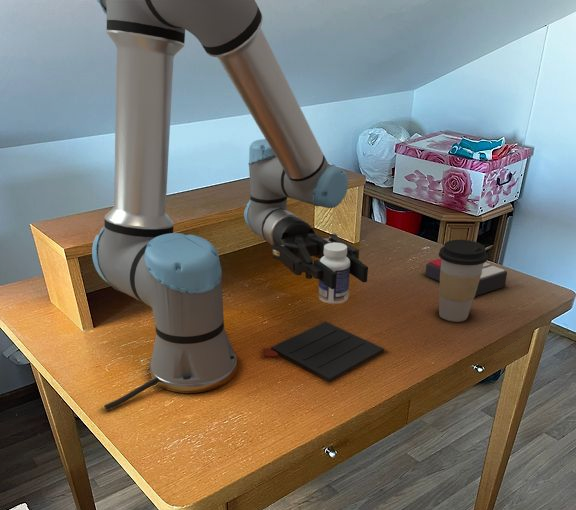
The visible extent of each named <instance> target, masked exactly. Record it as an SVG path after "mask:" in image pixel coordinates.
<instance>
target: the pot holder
mask: <svg viewBox="0 0 576 510" xmlns="http://www.w3.org/2000/svg"><path fill="white" fill-rule="evenodd" d="M384 351H385V349H384V348H383V347H382V346H379V345H377V344H375V343H374V342H373V343H372V342H370V341H368V340H366V339H364V338H362V337H360V336H358V335H355V334H354V333H351V332H348V331H347V330H344V329H342V328H340V327H338V326H336V325H334V324H331V323H329V322H327V321H324V322H322V323H320V324H318V325H316V326H313V327H311V328H309V329H307V330H305V331H303V332H300V333H299V334H296V335H294V336H292V337H290V338H288V339H285V340H283V341H282V342H280V343H277V344H275V345H274V346H273V345H272V346H271V347H270V348H265V351H264V358H278V357H279V356H280V357H281V358H283V359H285V360H287V361H289V362H291V363H293V364H295V365H296V366H298V367H300V368H301V369H304V370H306V371H308V372H309V373H311V374H313V375H315V376H317V377H318V378H320V379H323V380H324V381H326V382H328V383H331V382H332V381H335V380H336V379H338V378H339V377H342V376H344V375H346V374H347V373H349V372H351V371H353V370H354V369H356V368H358V367H359V366H361V365H363V364H365V363H367V362H369V361H370V360H372V359H374V358H375V357H377V356H379V355H381V354H383V353H384Z"/></svg>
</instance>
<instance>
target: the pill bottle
mask: <svg viewBox="0 0 576 510" xmlns="http://www.w3.org/2000/svg"><path fill="white" fill-rule="evenodd" d="M323 253H324V255H325V256H323V257H322V258H321V259H319V261H320V262H321V263H323V264H324V265H326V266H327V267H328V268H330V269H331V270H332V271H334V272H335V273H336V289H331V288H330V287H328V286H327V285H326V284H324V283H323V282H322V281H320V280H319V279H318V299H319V300H320V301H321V302H323V303H325V304H329V305H339V304H343V303H346V301H348V300H349V296H350V295H349V293H350V292H349V291H350V276H351V274H350V260H349V258H348V257H346V255H347V246H346V245H345V244H342V243H328V244H326V245H324V252H323Z"/></svg>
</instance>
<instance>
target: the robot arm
mask: <svg viewBox="0 0 576 510" xmlns="http://www.w3.org/2000/svg"><path fill="white" fill-rule="evenodd" d="M96 2H97V3H99V5H100V7H101V10H102V12H103V13H104V14H105V15H106V34H107V36H108V37H109V38H110V39H111V41H112V42H113V44H114V45H115V47H116V70H115V71H116V72H115V75H116V76H115V124H114V125H115V127H114V130H115V131H114V136H115V137H114V178H113V179H114V184H113V186H114V187H113V190H114V191H113V196H114V197H113V207H112V209H110V210H109V211H108V212H107V213H105V215H104V218H103V219H104V221H103V222H104V223H103V225H104V226H103V227H102V228H101V229H100V230H99V231H100V232H99V233H98V234H96V235H95V237H94V240H93V242H92V246H91V247H92V248H91V258H92V262H93V266H94V268H95V270H96V272H97V274H98V275H99V276H100V278H101V279H102V280H103V281H104V282H106V283H107V284H108V285H109V286H111V287H112V288H113V289H115V290H116V291H118V292H119V293H122V294H126V295H128V296H130V297H132V298H133V299H135V300H137V301H139V302H141V303H143V304H145V305H146V306H149V307H150V308H151V309H152V315H153V320H154V321H153V322H154V329H155V339H154V343H153V348H152V352H151V358H150V362H149V370H150V377H151V379H150V380H149V381H147V382H145V383H143V384H142V385H140V386H138V387H136V388H134V389H133V390H131V391H129V392H128V393H127V394H125V395H123V396H121V397H120V398H117V399H115V400H113V401H111V402H109V403H106V404H104V409H105V410H106V411H109V410H111V409H113V408H115V407H117V406H119V405H121V404H124V403H125V402H127V401H129V400H130V399H132V398H134V397H135V396H137V395H139V394H141V393H143V392H144V391H146V390H147V389H149V388H151V387H153V386H154V385H157V386H158V387H160V388H162V389H165V390H167V391H169V392H174V393H180V394H195V393H197V394H198V393H202V392H207V391H208V392H209V391H212V390H214V389H217V388H220V387H222V386H224V385H226V384H227V383H228V382H230V381H231V380H232V379H233V378H234V377H235V376H236V373H237V370H238V359H237V355H236V354H237V353H235V350H234V348H233V346H232V343H231V341H230V338H229V336H228V334H227V332H226V329H225V320H224V317H225V316H224V300H223V299H224V297H223V281H222V280H223V279H222V278H223V276H222V275H223V269H222V266H221V261H220V256H219V252H218V250H217V248H216V246H214V244H213V243H211V241H209V240H207V239H205V238H203V237H201V236H199V235H196V234H191V233H189V234H184V232H174V226H175V223H174V221H173V220H172V218H171V217H170V216H169V215H168V214H167V211H166V208H167V194H168V193H167V190H168V173H169V171H168V169H169V155H170V154H169V153H170V134H171V114H172V98H173V97H172V96H173V95H172V94H173V75H174V59H175V56H176V55H177V54H178V53H179V52H180V51H181V50H182V49H183V48H184V47H185V41H186V31H187V32H189V33H190V34H191V35H193V36H194V37H195V39H196V40H198V42H199V43H200V44H201V46H202V48H203V49H204V52H205V53H206V54H207V55H208V56H210V57H213V58H217V60H218V61H219V63H220V64H221V66H222V68H223V70H224V72H225V73H226V75H227V77H228V78H229V80H230V82H231V84H232V85H233V87H234V89H235V90H236V92H237V93H238V95H239V97H240V98H241V100H242V102H243V103H244V105H245V107H246V108H247V110H248V112H249V113H250V116H251V117H252V119H253V120H254V123H255V124H256V125H257V127H258V128H259V130H260V132H261V134H262V135H263V137H264V138H261V139H256V140H254V141H252V142H251V143H250V145H249V150H248V152H249V154H248V170H249V171H248V172H249V190H250V192H249V193H250V199H249V201H248V202H247V204H246V206H245V207H244V211H243V217H244V220H245V223H246V225H247V227H248V228H250V229H251V231H252V232H253V233H254V234H255V235H257V236H258V237H260V238H261V239H263V240H264V241H266V242H267V243H268V244H269V245H271V247H272V258H273V259H275V260H277V261H279V262H281V263H282V264H283V265H284V266H285V267H286V268H287V269H288V270H290V272H292V273H293V274H294V275H295V276H301V275H302V274H303V273H305V279H307V280H311V279H316V280H318V281H319V280H320V281H322V282H323V283H324V284H326V285H327V286H328V287H330V288H331V289H336V273H335V272H334V271H332V270H331V269H330V268H328V267H327V266H326V265H324V264H323V263H321V262H320V259H321V258H322V257H323V256H325V255H324V253H323V252H324V245H326V244H328V243H342V244H345V245H346V246H347V255H346V257H348V258H349V260H350V275H351V276H352V277H354V278H356V279H357V280H358V281H360V282H362V283H363V284H364V283H367V282H368V274H369V266H367V264H364V263H363V261H362V260H361V259H359V258H360V257H359V256H360V250H359V249H358V248H357V247H355V246H353V245H351V244H350V243H348V242H346V241H345V240H343V239H341V238H340V237H338V235H337V233H331V234H330V235H329V236H328V237H327V238H326V237H325V238H324V237H323V236H322V235H319V234H316V233H315V230H314V229H313V227H312V226H311V224H310V223H308V222H306V221H305V220H304V219H302V218H300V217H299V216H297V215H296V214H295V213H292V212H291V211H289V210H288V198H289V199H292V200H293V199H294V200H296V201H300V202H303V203H306V204H309V205H311V206H312V205H313V206H314V207H322V208H326V209H333V208H336V207H338V206H339V205H340V204H341V203H342V202H343V200H344V199H345V198H346V195H347V192H348V188H349V178H348V175H347V174H348V173H346V171H345V170H344V169H343V168H342V167H339V166H337V165H336V164H334V163H333V164H332V163H331V164H330V163H329V162H328V160H327V159H326V157H325V155H324V152H323V150H322V148H321V146H320V144H319V142H318V140H317V139H316V138H317V137H315V136H316V135H315V134H314V132H313V130H312V128H311V126H310V124H309V122H308V120H307V118H306V116H305V114H304V112H303V110H302V108H301V106H300V104H299V102H298V100H297V98H296V95H295V94H294V92H293V89H292V88H291V86H290V84H289V82H288V80H287V78H286V76H285V73H284V72H283V70H282V68H281V66H280V64H279V61H278V59H277V58H276V56H275V54H274V52H273V50H272V47H271V46H270V44H269V41H268V39H267V38H266V36H265V34H264V31H263V30H262V24H263V17H264V16H263V13H262V12H261V9H260V7H259V6H258V3H257V1H256V0H96ZM312 257H315V258H317V259H314V260H313V258H312Z"/></svg>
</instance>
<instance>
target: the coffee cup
mask: <svg viewBox="0 0 576 510" xmlns="http://www.w3.org/2000/svg"><path fill="white" fill-rule="evenodd" d="M438 257H439V259H440V258H441V259H442V260H441V268H440V281H439V289H438V293H439V306H438V307H439V308H438V309H439V310H438V312H439V313H438V316H439V317H440V318H442V319H443V320H445V321H449V322H455V323H460V322H464V321H466V320H467V319H468V318H469V314H470V311H471V308H472V305H473V301H474V299H475V297H476V296H475V294H476V291H477V287H478V284H479V281H480V277H481V274H482V268H483V265H484V263H485V262H486V263H487V262H488V260H489V258H488V252H487V250H486V246H485V245H484V244H482V243H480V242H477V241H475V240H469V239H451V240H447V241H446V242H444V243H443V246H442V247H441V248H440V249H439V252H438Z"/></svg>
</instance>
